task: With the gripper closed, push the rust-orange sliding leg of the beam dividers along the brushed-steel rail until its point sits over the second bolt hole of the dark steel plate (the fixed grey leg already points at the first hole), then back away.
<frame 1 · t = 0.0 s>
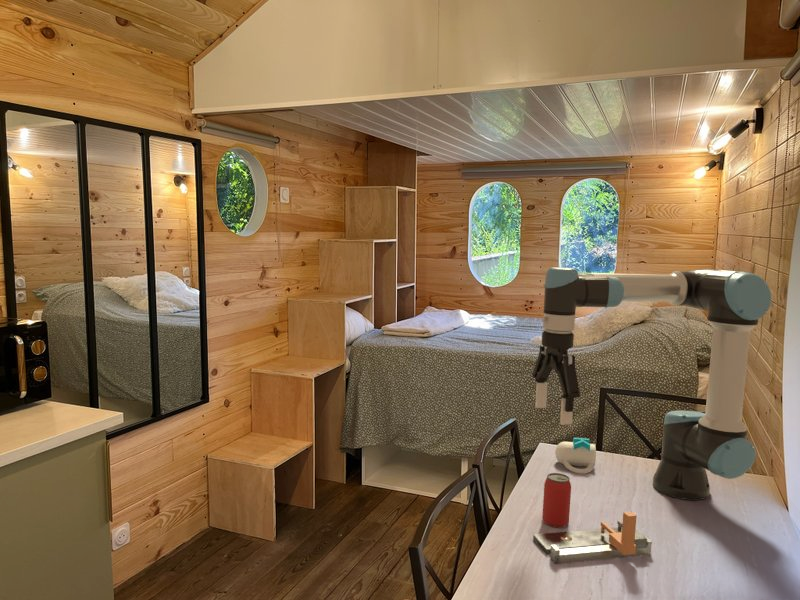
hand: (552, 415, 152), 28 cm above the table, fingers open, 13 cm apart
hole plate: (586, 542, 146), on the table
beer can: (555, 523, 155), on the table
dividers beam: (600, 556, 139), on the table
sliding leg: (616, 524, 141), point 7 cm above the table, slide at 1.0 cm
mug: (574, 467, 194), on the table
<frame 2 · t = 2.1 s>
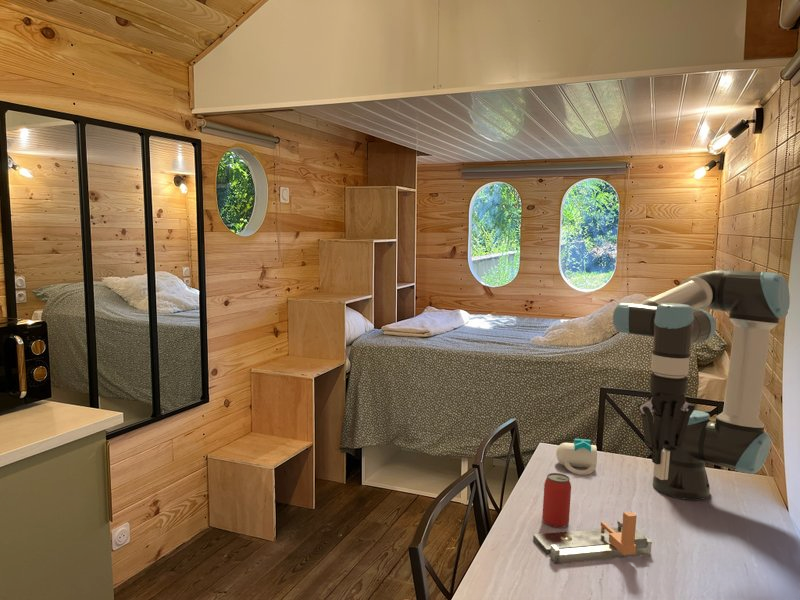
hand: (660, 477, 137), 19 cm above the table, fingers closed
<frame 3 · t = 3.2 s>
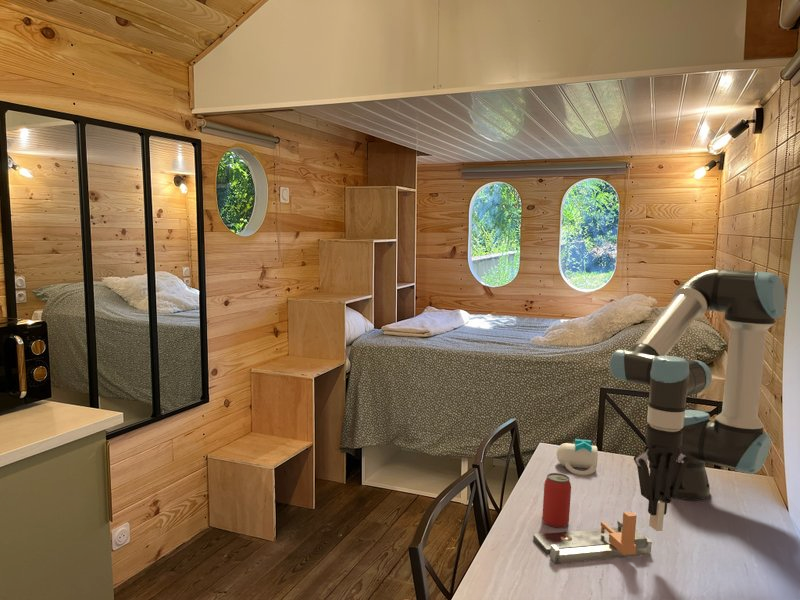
hand: (655, 527, 138), 8 cm above the table, fingers closed
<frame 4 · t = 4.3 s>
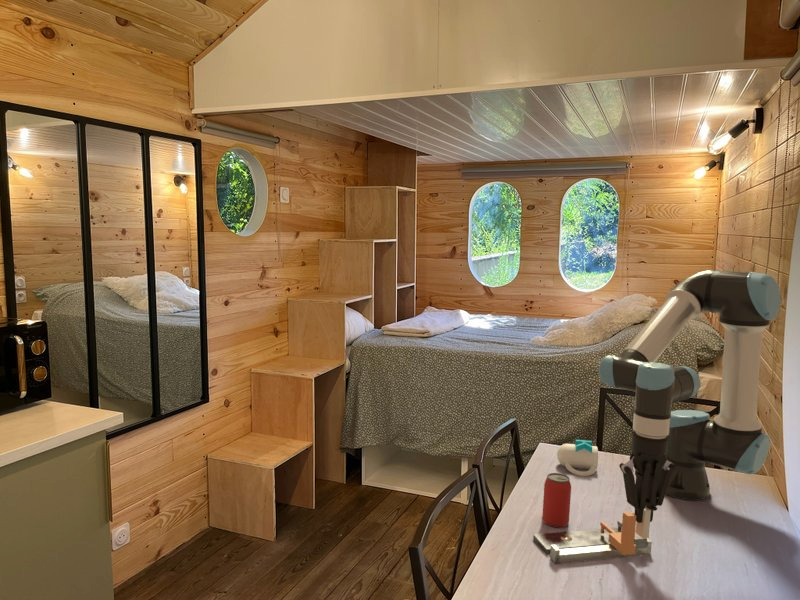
hand: (641, 535, 138), 6 cm above the table, fingers closed
sliding leg: (616, 524, 141), point 7 cm above the table, slide at 1.1 cm, touching gripper
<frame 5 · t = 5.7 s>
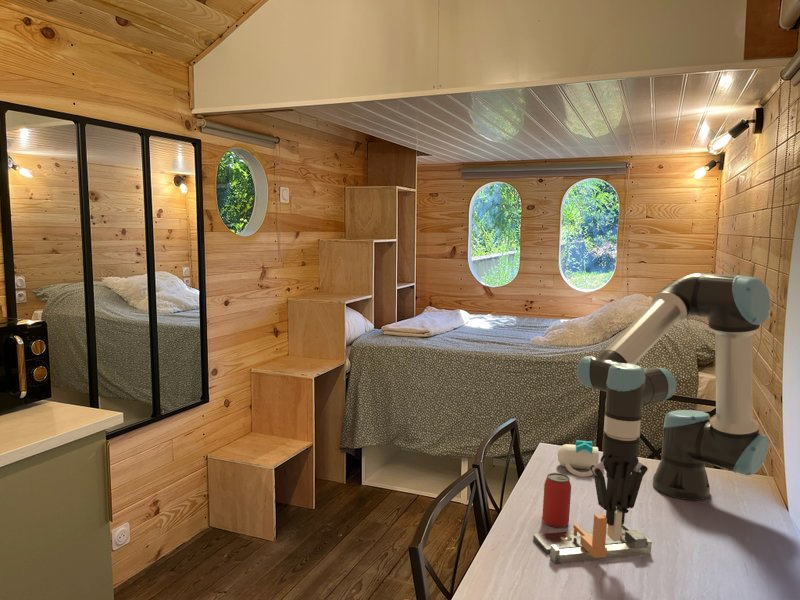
hand: (613, 537, 136), 6 cm above the table, fingers closed
sliding leg: (588, 526, 140), point 7 cm above the table, slide at 8.2 cm, touching gripper
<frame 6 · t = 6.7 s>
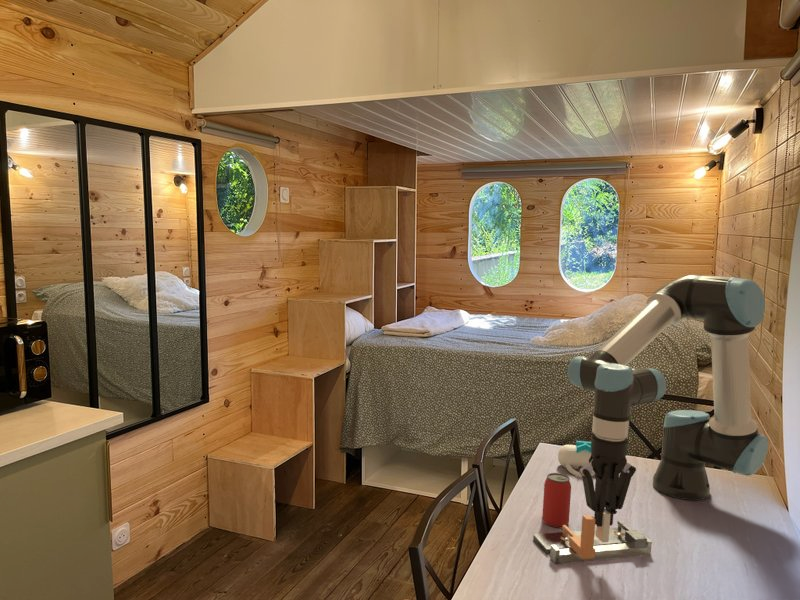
hand: (602, 539, 135), 6 cm above the table, fingers closed
sliding leg: (576, 527, 139), point 7 cm above the table, slide at 11.1 cm, touching gripper
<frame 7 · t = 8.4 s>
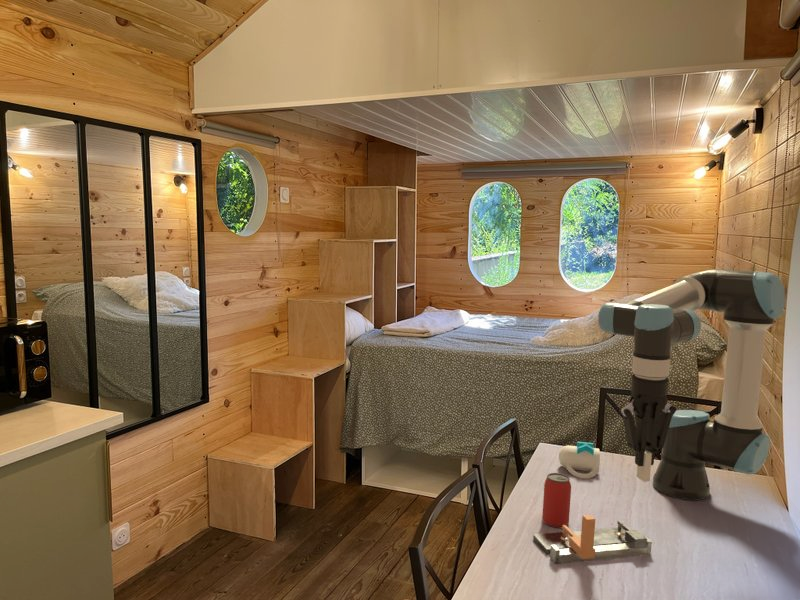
hand: (643, 478, 136), 19 cm above the table, fingers closed
sliding leg: (576, 527, 139), point 7 cm above the table, slide at 11.1 cm
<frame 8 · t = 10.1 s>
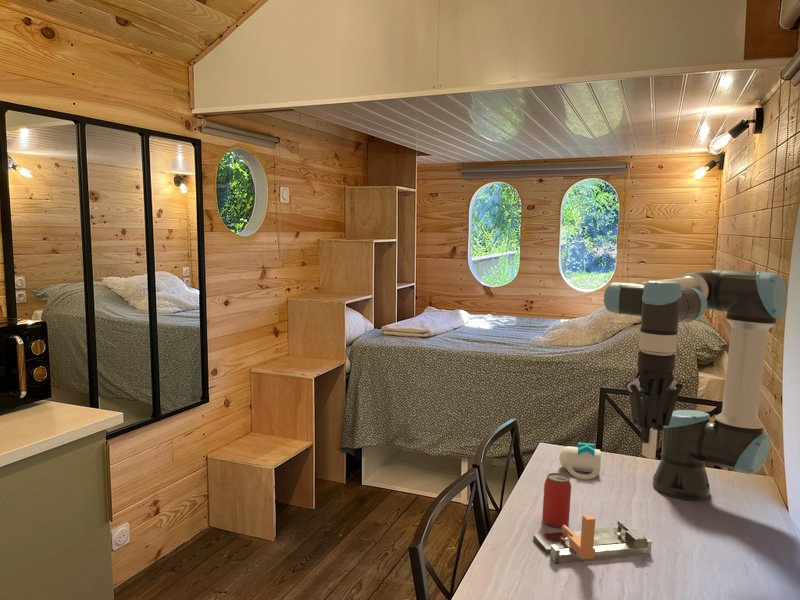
hand: (648, 456, 136), 24 cm above the table, fingers closed
at the end: sliding leg slide at 11.1 cm; the gripper is holding nothing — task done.
